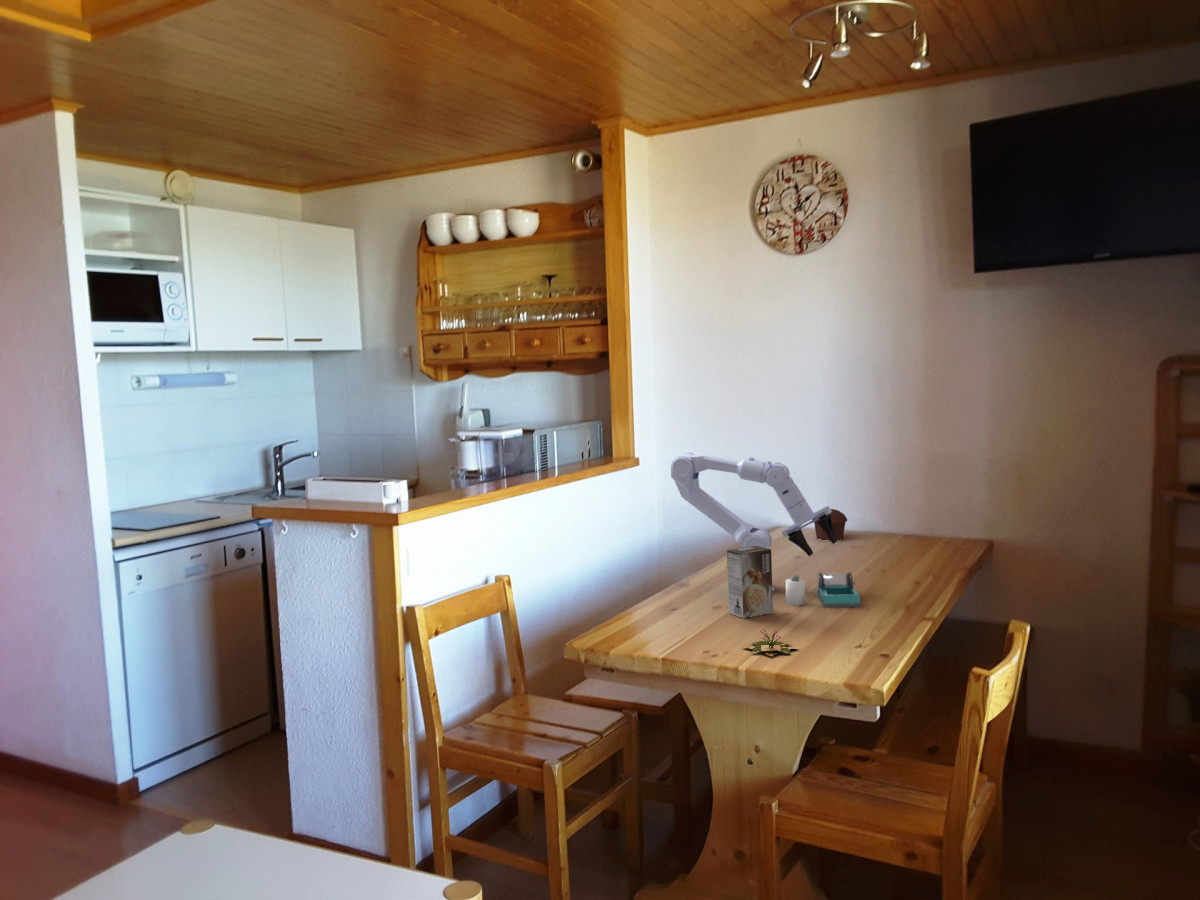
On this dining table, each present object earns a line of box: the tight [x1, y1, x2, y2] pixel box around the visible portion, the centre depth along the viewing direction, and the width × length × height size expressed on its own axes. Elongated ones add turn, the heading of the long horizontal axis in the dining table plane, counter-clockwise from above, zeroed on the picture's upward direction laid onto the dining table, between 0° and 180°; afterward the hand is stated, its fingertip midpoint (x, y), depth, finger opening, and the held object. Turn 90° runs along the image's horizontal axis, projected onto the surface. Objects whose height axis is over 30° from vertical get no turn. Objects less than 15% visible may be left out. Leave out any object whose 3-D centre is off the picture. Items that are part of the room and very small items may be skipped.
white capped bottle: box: [785, 574, 806, 606], centre depth 244 cm, size 5×5×7 cm
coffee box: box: [726, 546, 774, 619], centre depth 236 cm, size 9×6×16 cm
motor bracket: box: [815, 571, 862, 608], centre depth 246 cm, size 10×14×6 cm
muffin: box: [813, 508, 848, 542], centre depth 326 cm, size 12×11×10 cm
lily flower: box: [745, 628, 793, 654], centre depth 208 cm, size 12×12×5 cm
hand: (823, 548), depth 254 cm, fingers open, 7 cm apart
